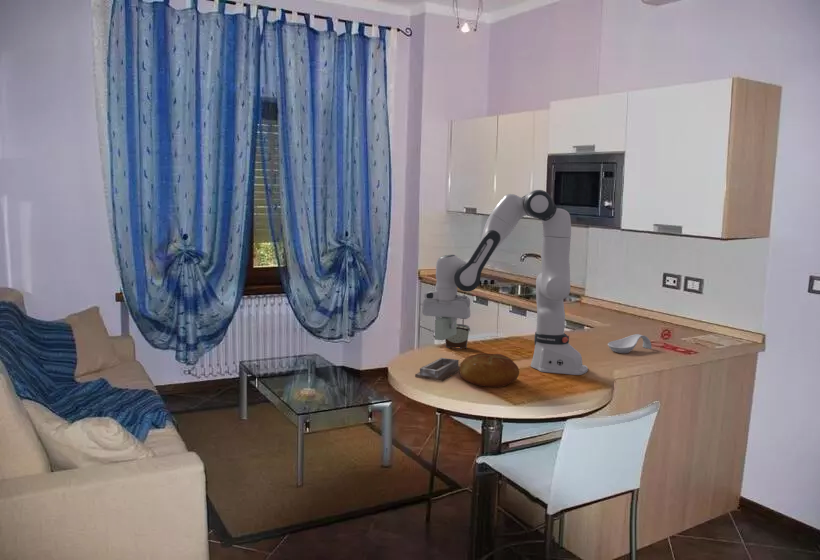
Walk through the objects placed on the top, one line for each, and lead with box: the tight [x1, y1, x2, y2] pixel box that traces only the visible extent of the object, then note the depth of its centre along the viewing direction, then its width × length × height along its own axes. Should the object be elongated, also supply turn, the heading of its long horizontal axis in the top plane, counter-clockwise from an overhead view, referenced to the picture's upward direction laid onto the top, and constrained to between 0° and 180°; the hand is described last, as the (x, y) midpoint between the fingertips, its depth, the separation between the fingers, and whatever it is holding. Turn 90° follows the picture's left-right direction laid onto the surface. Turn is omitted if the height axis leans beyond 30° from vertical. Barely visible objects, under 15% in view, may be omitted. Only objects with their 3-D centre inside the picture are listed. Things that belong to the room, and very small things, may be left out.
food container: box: [444, 323, 471, 349], centre depth 306 cm, size 12×6×10 cm, turn 74°
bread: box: [459, 352, 520, 388], centre depth 250 cm, size 23×23×10 cm
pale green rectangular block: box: [434, 317, 458, 341], centre depth 276 cm, size 4×14×8 cm, turn 154°
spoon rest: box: [607, 333, 652, 354], centre depth 307 cm, size 24×12×7 cm, turn 122°
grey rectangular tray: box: [414, 357, 460, 382], centre depth 259 cm, size 11×20×4 cm, turn 154°
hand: (445, 327), depth 276 cm, fingers closed on pale green rectangular block, 3 cm apart
